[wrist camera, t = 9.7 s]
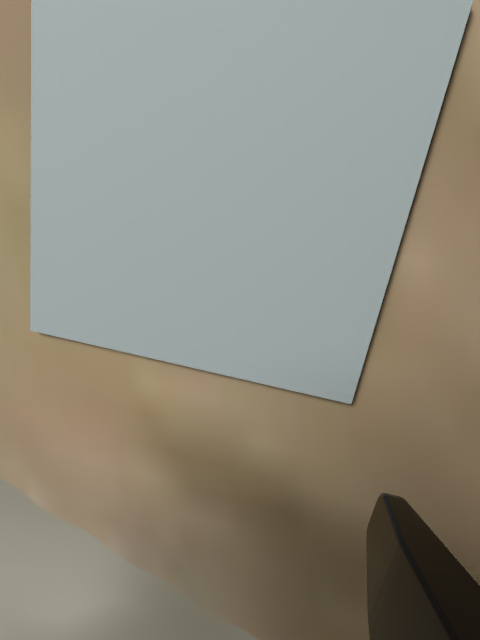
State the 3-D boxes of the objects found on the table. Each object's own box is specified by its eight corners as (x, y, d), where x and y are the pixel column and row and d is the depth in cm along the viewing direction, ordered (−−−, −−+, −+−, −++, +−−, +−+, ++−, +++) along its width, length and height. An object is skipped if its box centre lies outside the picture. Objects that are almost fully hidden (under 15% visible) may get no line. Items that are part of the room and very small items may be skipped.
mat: (468, 4, 15) (473, -1, 15) (350, 399, 21) (351, 404, 20) (39, -60, 17) (31, -66, 16) (36, 327, 22) (30, 330, 22)
